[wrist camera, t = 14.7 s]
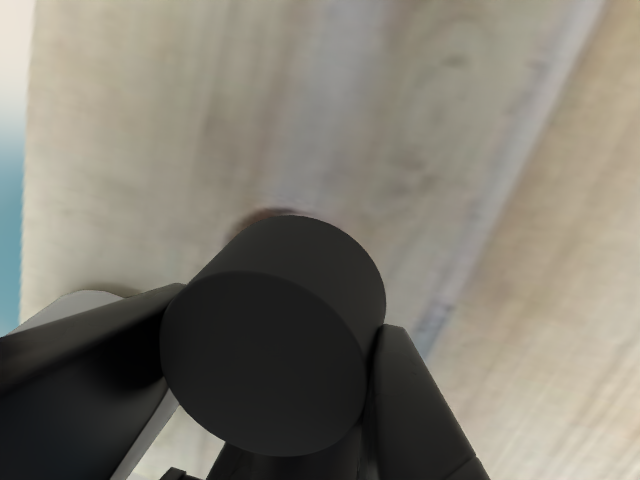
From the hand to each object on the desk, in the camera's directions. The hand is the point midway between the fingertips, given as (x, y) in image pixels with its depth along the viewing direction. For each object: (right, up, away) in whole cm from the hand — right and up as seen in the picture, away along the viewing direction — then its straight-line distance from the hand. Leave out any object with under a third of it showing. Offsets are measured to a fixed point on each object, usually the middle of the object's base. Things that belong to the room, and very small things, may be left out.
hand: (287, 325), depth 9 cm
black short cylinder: (0, 0, +1) cm, 1 cm away
